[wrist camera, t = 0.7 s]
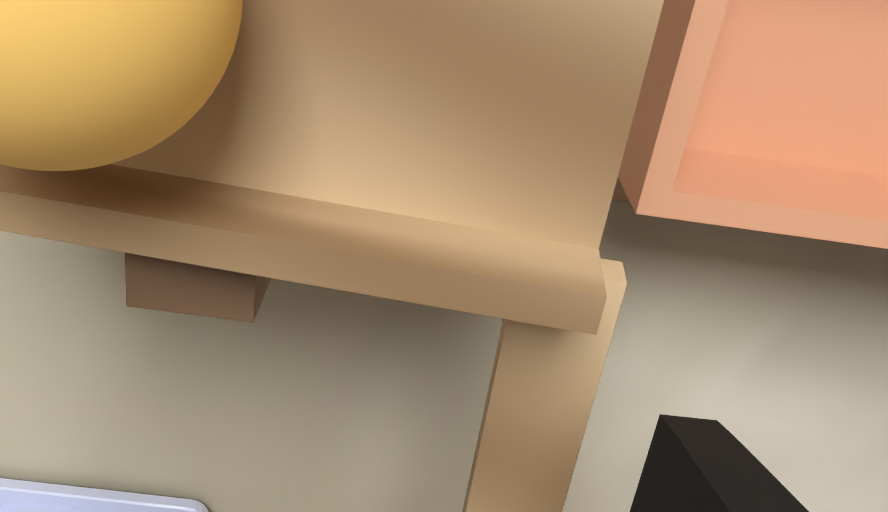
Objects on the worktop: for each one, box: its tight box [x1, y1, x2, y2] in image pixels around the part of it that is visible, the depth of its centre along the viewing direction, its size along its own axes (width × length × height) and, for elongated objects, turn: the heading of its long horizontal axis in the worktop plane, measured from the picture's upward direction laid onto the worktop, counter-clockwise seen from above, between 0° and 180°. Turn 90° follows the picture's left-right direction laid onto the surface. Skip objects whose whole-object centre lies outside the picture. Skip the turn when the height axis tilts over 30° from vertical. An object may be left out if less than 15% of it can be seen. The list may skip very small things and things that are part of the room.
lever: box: [0, 0, 664, 512], centre depth 11 cm, size 13×11×4 cm
